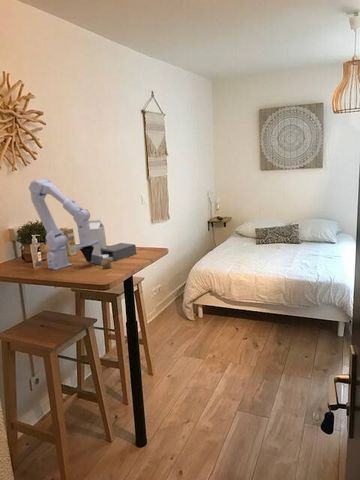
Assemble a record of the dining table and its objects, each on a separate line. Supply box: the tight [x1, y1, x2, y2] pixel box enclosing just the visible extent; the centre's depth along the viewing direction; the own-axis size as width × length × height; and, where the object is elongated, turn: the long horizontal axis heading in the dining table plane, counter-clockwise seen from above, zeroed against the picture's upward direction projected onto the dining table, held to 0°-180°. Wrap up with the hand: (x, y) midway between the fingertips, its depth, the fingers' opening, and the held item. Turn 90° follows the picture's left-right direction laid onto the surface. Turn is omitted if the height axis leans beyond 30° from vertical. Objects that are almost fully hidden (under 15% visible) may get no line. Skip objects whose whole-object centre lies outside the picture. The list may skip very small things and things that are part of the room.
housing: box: [100, 242, 137, 262], centre depth 202 cm, size 14×12×6 cm
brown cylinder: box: [101, 258, 112, 270], centre depth 182 cm, size 4×4×4 cm
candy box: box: [59, 226, 78, 256], centre depth 217 cm, size 9×4×15 cm, turn 44°
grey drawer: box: [88, 253, 114, 266], centre depth 196 cm, size 14×12×4 cm
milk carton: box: [89, 219, 108, 255], centre depth 210 cm, size 7×7×19 cm
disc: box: [99, 254, 109, 259], centre depth 195 cm, size 6×6×2 cm
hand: (88, 261), depth 189 cm, fingers closed
